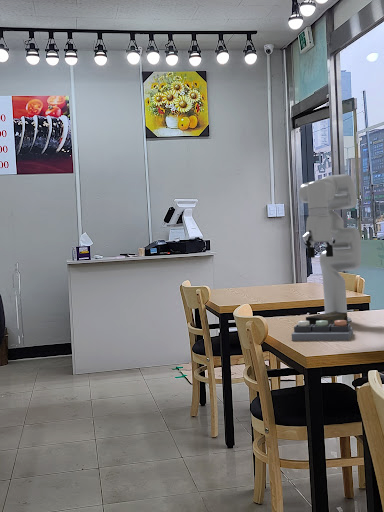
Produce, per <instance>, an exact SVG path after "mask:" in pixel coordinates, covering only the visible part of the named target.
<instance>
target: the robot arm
mask: <svg viewBox="0 0 384 512" xmlns="http://www.w3.org/2000/svg"><path fill="white" fill-rule="evenodd" d="M298 189H299V190H298V198H299V201H301V203H303V204H307V206H308V207H307V208H308V217H307V216H306V217H307V218H306V223H305V225H306V226H305V234H304V235H302V240H303V243H304V245H305V247H306V249H307V258H308V259H311V258H312V259H313V258H314V259H315V258H316V254H315V253H316V252H315V251H316V250H315V245H316V243H323V244H324V248H325V250H324V251H322V252H321V253H320V255H319V264H320V270H321V276H322V286H323V287H322V288H323V303H324V304H323V305H324V313H330V312H333V311H337V312H342V313H347V314H348V309H347V308H348V307H347V304H348V303H347V294H346V293H347V290H346V287H347V286H346V280H345V278H344V276H342V274H340V272H346V271H356V270H359V269H360V267H361V263H362V241H361V240H362V238H361V233H360V231H359V229H357V228H356V227H344V225H345V224H344V223H345V222H344V219H343V218H342V217H341V215H340V214H339V213H338V212H336V211H335V210H346V209H347V210H348V209H353V208H355V207H356V206H357V204H358V196H357V195H358V194H357V192H356V191H357V190H356V187H355V183H354V180H353V178H352V176H351V175H349V174H346V173H343V174H333V175H326V176H324V177H322V178H320V179H316V180H313V181H309V182H304V183H302V184H301V185H300V187H299V188H298ZM347 319H348V323H349V322H352V318H351V317H350V316H347Z"/></svg>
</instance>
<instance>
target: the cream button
mask: <svg viewBox="0 0 384 512" xmlns="http://www.w3.org/2000/svg"><path fill="white" fill-rule="evenodd" d="M297 324H298V327H310V324H309V321H306V320H298V321H297Z"/></svg>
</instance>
